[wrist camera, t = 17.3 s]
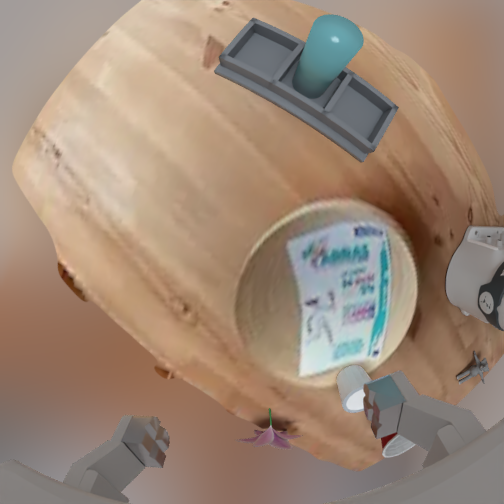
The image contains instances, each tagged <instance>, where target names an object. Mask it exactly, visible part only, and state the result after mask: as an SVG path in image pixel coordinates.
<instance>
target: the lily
mask: <svg viewBox="0 0 504 504" xmlns="http://www.w3.org/2000/svg"><path fill="white" fill-rule="evenodd" d="M269 414H270V427H269V428H268V429H267V430H265V431H264V432H262V431H258V430H254V433H255V435H259V434H261V433H263V434H261V435H259V436H256V437H253V438H248V439H237V440H236V441H238V442H243V443H254V445H253V446H254V447H258V446H264V445H267V444H269V445H271V446H273V447H275V448H280V449H293V447H292V446H291V444H290V443H289V441H288V440H287V439H294V438H298V437H301V436H303V435H287V434H288V433H287V431H282V432H277V431H276V430H274V429H273V428H272V420H271V410H270V408H269Z"/></svg>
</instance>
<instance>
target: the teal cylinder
mask: <svg viewBox="0 0 504 504" xmlns="http://www.w3.org/2000/svg"><path fill="white" fill-rule="evenodd" d="M362 46H363V35H362V33H361V31H360V30H359V28H358V27H357V26H356V25H355V24H354V23H353V22H351V21H350V20H348V19H346V18H344V17H341V16H338V15H323V16H320V17H318V18H317V19H316V20H315V21H314V23H313V26H312V28H311V31H310V33H309V36H308V39H307V41H306V44H305V46H304V49H303V52H302V54H301V57H300V60H299V62H298V65H297V68H296V70H295V73H294V76H293V79H292V84H293V87H294V89H295V91H297V92H299V93H300V94H302V95H304V96H305V97H307V98H310V99H314V98H318V97H320V96H322V95H323V94H324V93H325V91H326V90H327V89H328V88H329V86H330V85H331V84H332V83H333V81H334V80H335V79H336V78H337V76H338V75H339V74H340V73H341V72H342V70H343V69H344V68H345V67H346V65H347V64H348V63H349V62H350V61H351V59H352V58H353V57H354V56H355V55H356V53H357V52H358V51H359V50H360V49H361V47H362Z"/></svg>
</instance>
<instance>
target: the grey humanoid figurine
mask: <svg viewBox="0 0 504 504" xmlns="http://www.w3.org/2000/svg"><path fill="white" fill-rule="evenodd" d="M474 356H475V360H476V365H473V366H471V367H470V368H469V369H468V370H467V371H465V372H463V373H461V374H459V375H457V379H459V378H461V377H463V376H465V375H467V374H469V373H470V374H469V375H468V376H466V377H465V378H463V379H461V380H459V384H461V383H463V382H464V381H466V380H468V379H470V378H471V377H474V376H476V375H477V374H480V376H481V379H482V381H483V383H484V379H483V372H485V371H489V368H488V363H487V361H486V358H484V359H483V360H482V361H481V362H480V361H479V359H478V358H477V356H476V353H475V351H474Z"/></svg>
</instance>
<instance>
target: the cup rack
mask: <svg viewBox="0 0 504 504" xmlns="http://www.w3.org/2000/svg"><path fill="white" fill-rule="evenodd" d="M305 44H306V43H305V42H303V41H302V40H300V39H298V38H296V37H294V36H292V35H290V34H288V33H286V32H284V31H282V30H280V29H278V28H276V27H273V26H271V25H269V24H267V23H265V22H262V21H260V20H258V19H255V18H252V19H251V20H250V21H249V23H248V24H247V25H246V26H245V27H244V28H243V29H242V30H241V31H240V33H239V34H238V35H237V36H236V37H235V38H234V39H233V41H232V42H231V43H230V44H229V45H228V46H227V48H226V49H225V50H224V51H223V53H222V54H221V55H220V56H219V60H220V64H219V65H218V66H217V68H216V69H215V70H214V72H215V73H216V74H218V75H220V76H222V77H224V78H226V79H228V80H230V81H232V82H234V83H236V84H238V85H240V86H242V87H244V88H246V89H248V90H250V91H252V92H254V93H255V94H257V95H259V96H261V97H263V98H265V99H266V100H268V101H270V102H272V103H273V104H275V105H277V106H279V107H280V108H282V109H284V110H285V111H287V112H289V113H290V114H292V115H293V116H295V117H297V118H298V119H300V120H301V121H303V122H305V123H306V124H308V125H309V126H311V127H312V128H314V129H315V130H317V131H318V132H320V133H321V134H323V135H324V136H326V137H327V138H328V139H330V140H331V141H333V142H334V143H336V144H337V145H338V146H340V147H341V148H342V149H344V150H345V151H347V152H348V153H349V154H351V155H352V156H353V157H354V158H356V159H357V160H358V161H360V162H364V160H365V158H366V157H367V155H368V153H371V152H374V151H375V149H376V147H377V145H378V144H379V142H380V140H381V138H382V137H383V135H384V133H385V131H386V130H387V128H388V126H389V124H390V122H391V121H392V119H393V117H394V115H395V113H396V112H397V110H398V108H399V107H398V106H396V105H395V104H394V103H393V102H392V101H390V100H389V99H388V98H387V97H386V96H384V95H383V94H382V93H381V92H379V91H378V90H377V89H375V88H374V87H373V86H372V85H370V84H369V83H368V82H366V81H365V80H363V79H362V78H361V77H359V76H358V75H357V74H355V73H354V72H352V71H351V70H349V69H348V68H346V67H345V68H344V69H343V70H342V72H341V73H340V74H339V75H338V76H337V78H336V79H335V80H334V81H333V83H332V84H331V85H330V86H329V88H328V89H327V90H326V91H325V93H324V94H323V95H322V96H320V97H318V98H314V99H310V98H307V97H305V96H304V95H302V94H300V93H299V92H297V91H295V89H294V87H293V84H292V79H293V76H294V73H295V70H296V68H297V65H298V62H299V60H300V57H301V54H302V52H303V49H304V46H305Z"/></svg>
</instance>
